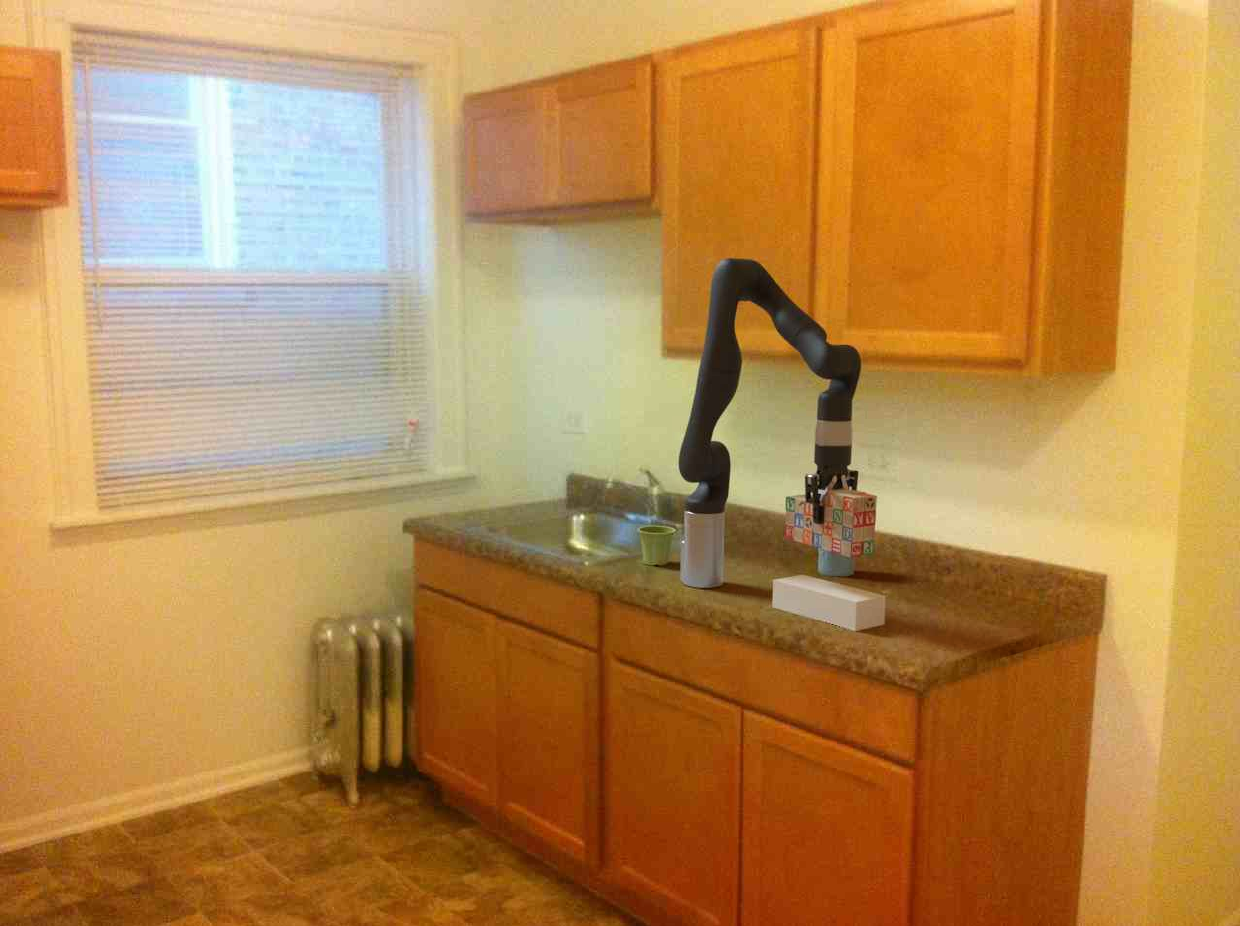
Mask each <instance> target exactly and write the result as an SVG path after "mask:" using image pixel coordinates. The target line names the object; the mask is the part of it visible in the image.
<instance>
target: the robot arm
mask: <svg viewBox="0 0 1240 926" xmlns="http://www.w3.org/2000/svg"><path fill="white" fill-rule="evenodd" d="M709 295H710V296H709V306H708V307H709V308H708V319H707V324H706V329H705V331H706V332H705V336H704V344H703V350H702V355H701V359H700V362H699V368H698V375H697V380H696V387H695V392H694V397H693V400H692V404H691V405H692V406H691V411H690V414H689V415H690V416H689V419H688V423H687V425H686V426H687V427H686V430H685V431H684V436H683V439H682V443H681V446H680V450H679V454H678V470H679V473H680V476H681V478H682V479H683V480H684V481H686V482H687V483H690V484H691V483H692V484H696V483H697V484H698V485H697V487H696V489H695V490H694V491H693V492H692V493H691V494H689V495H688V496H687V497H686V498H685V499H684V519H683V521H684V526H683V527H684V528H683V529H684V531H683V540H682V541H681V543H680V569H679V570H680V573H679V575H680V579H679V580H680V581H679V582H682V583H683V585H685V586H688V587H693V588H700V589H701V588H703V589H704V588H705V589H706V588H707V589H708V588H717V587H721V586H722V585H723V583H724V551H725V549H724V545H725V511H726V510H725V509H726V503H727V501H728V499H729V493H730V479H731V466H732V465H731V464H732V463H731V457H730V455H731V454H730V452H729V450H728V448H727V446H726V445H725V444H724V443H723V442H721V441H718V440H713V439H712V438H713V435H714V430H715V428H716V425H717V423H718V422H719V420H720V418H721V417H722V415H723V414H724V413H725V411H726V410H727V408H728V407H729V405H730V403H731V402H732V400H733V398H734V397H735V395H736V393H737V389H738V386H739V383H740V378H741V377H740V376H741V372H742V367H743V366H742V365H743V358H742V353H741V348H740V345H739V342H738V341H739V340H738V338H737V335H736V316H737V310H738V306H739V302H751V303H753V304H755V305H756V306H758V307H760V308H761V309H762V310H764V312H766V313H767V315H768V316H769V317H770V319H771V321H772V324H773V326H774V329H775V330H776V331H777V333H778V334H779V336H781V338H783V339H784V340H785V342H787V344H789V345H790V346H791V348H794V349H795V350H796V351H797V353H799V354H800V356H801V358H802V359H803V360H804V362H805V364H806V365H807V367H808V368H809V370H811V372H812V373H813V374H815V375H816V376H818V377H819V378H821V379H823V380H828V381H829V380H830V381H829V386H828V388H827V389H826V390H824V391H822V392H821V393H820V394H818V398H817V408H816V409H817V411H816V413H817V414H816V424H815V425H816V426H815V429H814V430H815V432H814V452H813V453H814V458H813V460H814V461H813V462H814V464H815V465H816V471H815V473H813V474H809V473H806V474H805V475H804V491H805V494H804V495H805V500H806V502H807V503H811V504H812V505H813V521H814V523H816V524H823V523H824V506H823V505H824V503H825V500H826V496H827V495H828V491H831V490H837V489H841V488H842V489H850V488H851V489H850V490H857V491H858V483H859V471H858V470H853V469H849V468H848V467H849V466H851V464H852V451H853V424H852V419H853V399H854V397H855V393H856V390H857V386H858V383H859V379H860V375H861V371H862V360H861V359H862V358H861V355H860V353H859V351H858V350H857V348H855V346H852V345H851V344H832V343H830V342H828V341H827V340H828V335H827V332H826V330H825V329H824V327H823V326H821V325H820V324H819V323H818V322H817V321H816V320H814V319H813V318H812V317H811V316H810V315H809V314H807V313H806V312H805V311H804V310H803V309H801V308H800V306H799V305H797V304H796V303H795V302H794V301H793V300H792V299H791V298H790V297H789V296H788V295H787V294H786V292H785V291H784V290H783V288H782V287H781V286H780V285H779V284H778V283H777V281H775V279H774V278H773V277H772V275H771V274H770V273H769V272H768V270H767V269H766V268H765V267H764V266H763V264H761V263H760V262H759V261H757V260H754V259H751V258H738V257H737V258H735V257H734V258H733V257H730V258H729V257H727V258H724V259H722V260H720V261H719V262H718V264H716V267H715V268H714V271H713V275H712V277H711V284H710V294H709ZM818 489H823V490H824V491H821V490H818ZM811 495H812V497H811ZM819 495H821V498H820V500H819Z"/></svg>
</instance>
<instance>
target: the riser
mask: <svg viewBox="0 0 1240 926" xmlns="http://www.w3.org/2000/svg"><path fill="white" fill-rule="evenodd" d="M772 608H773V609H777V610H781V611H785V612H787V613H790V614H795V615H798V616H801V617H804V618H808V619H812V620H814V621H818V620H820V621H819V622H821V621H823V622H822V623H825V622H827V623H826V624H828V623H830V624H829V625H831V624H834V625H833V626H835V625H837V626H836V627H838V626H840V628H842V627H843V628H842V629H845V628H846V630H848V629H849V631H851V632H859V631H863V630H865V629H872V628H875V627H879V626H884V625H885V616H886V595H884V594H881V593H877V592H874V591H873V592H871V591H868V590H864V589H860V588H856V587H852V586H848V585H845V584H842V583H838V582H833V581H830V580H824V579H822V578H818V577H813V576H810V575H806V574H799V575H793V576H788V577H782V578H776V579H773V580H772Z"/></svg>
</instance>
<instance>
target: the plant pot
mask: <svg viewBox="0 0 1240 926" xmlns="http://www.w3.org/2000/svg"><path fill="white" fill-rule="evenodd" d="M637 532H638V533H639V537H640V543H641V544H640V545H641V552H642V561H643V564H645V565H647V566H655V565H658V566H661V567H663V566H666V565H667V564H668V563H669V559H670V558H669V557H670V551H671V546H672V540H673V538H674V534H675V532H676V529H675V528H673V527H670V526H665V525H664V526H663V525H647V526H641V527H638V528H637Z"/></svg>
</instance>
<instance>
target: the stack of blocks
mask: <svg viewBox="0 0 1240 926" xmlns="http://www.w3.org/2000/svg"><path fill="white" fill-rule="evenodd" d="M818 490H821V491H824V490H823V489H818ZM811 497H812V494H811ZM820 498H821V495H819V500H820ZM877 498H878V496H877V495H874V494H870V493H867V492H865V491H862V490H861V491H860V490H858V489H857V490H851V489H842V488H841V489H837V490H831V491H828V495H827V496H826V500H825V503H824V505H823V506H824V523H823V524H816V523H814V521H813V505H812V504H811V503H807V502H806V500H805V494H798V495H797V494H796V495H788V496H785V522H784V523H785V529H784V534H785V535H784V538H785V539H788V540H792V541H794V542H798V543H801V544H803V545H808V546H811V547H815V548H822V549H825V550H828V551H832V552H835V553H838V554H841V555H844V556H848V557H855V558H857V557H863V556H871V555H873V556H874V554H875V531H876V521H877V519H876V518H877V515H876V514H877V501H878V500H877Z"/></svg>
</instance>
